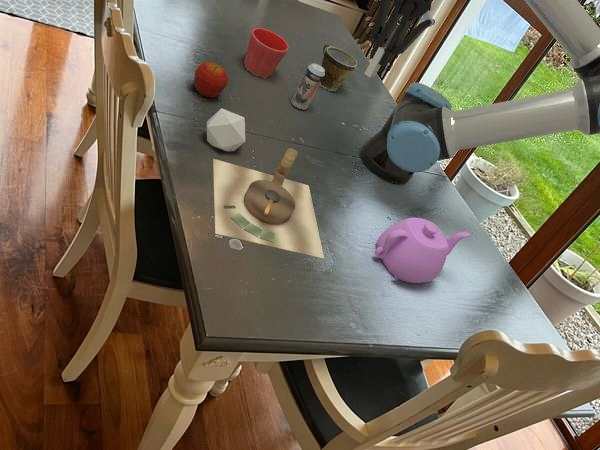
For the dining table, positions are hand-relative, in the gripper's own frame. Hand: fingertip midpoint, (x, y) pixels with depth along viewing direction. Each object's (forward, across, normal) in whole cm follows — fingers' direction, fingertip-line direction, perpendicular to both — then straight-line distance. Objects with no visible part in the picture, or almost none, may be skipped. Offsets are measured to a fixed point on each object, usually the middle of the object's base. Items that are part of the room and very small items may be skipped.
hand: (369, 74), depth 126 cm
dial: (+23, -4, +27) cm, 35 cm away
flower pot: (+24, +34, -14) cm, 44 cm away
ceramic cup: (+24, +24, -34) cm, 48 cm away
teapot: (+25, -32, +11) cm, 42 cm away
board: (+24, -5, +30) cm, 39 cm away
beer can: (+24, +18, -13) cm, 33 cm away
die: (+24, +14, +24) cm, 36 cm away
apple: (+24, +30, +12) cm, 40 cm away
